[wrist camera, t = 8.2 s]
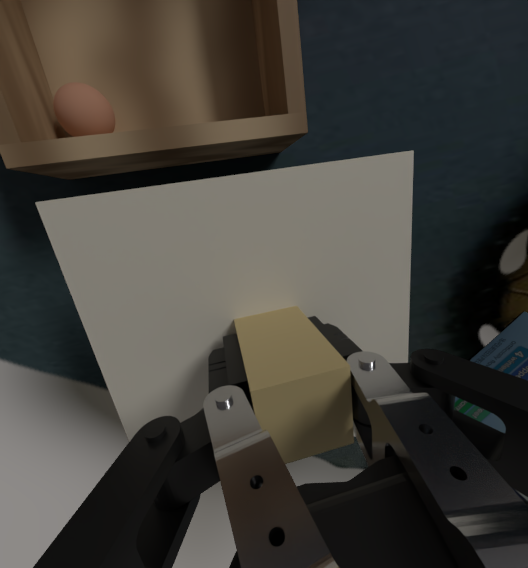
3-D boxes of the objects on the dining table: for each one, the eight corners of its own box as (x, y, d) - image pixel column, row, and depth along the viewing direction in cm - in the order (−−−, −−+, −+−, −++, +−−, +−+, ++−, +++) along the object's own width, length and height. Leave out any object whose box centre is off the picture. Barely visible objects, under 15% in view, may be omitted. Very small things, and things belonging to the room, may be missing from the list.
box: (248, -126, 16) (271, -310, 10) (280, 152, 20) (307, 132, 15) (-40, -134, 14) (-216, -373, 8) (68, 179, 18) (6, 168, 13)
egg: (113, 92, 17) (94, 69, 14) (127, 145, 18) (112, 133, 15) (61, 96, 16) (31, 74, 14) (79, 150, 17) (54, 140, 14)
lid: (401, 153, 12) (554, 113, 7) (397, 411, 17) (487, 508, 12) (47, 202, 10) (-138, 199, 5) (154, 483, 15) (122, 646, 9)
